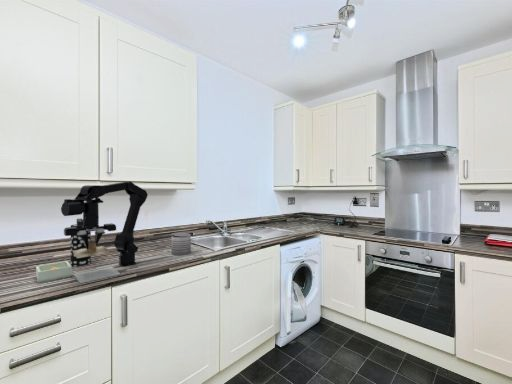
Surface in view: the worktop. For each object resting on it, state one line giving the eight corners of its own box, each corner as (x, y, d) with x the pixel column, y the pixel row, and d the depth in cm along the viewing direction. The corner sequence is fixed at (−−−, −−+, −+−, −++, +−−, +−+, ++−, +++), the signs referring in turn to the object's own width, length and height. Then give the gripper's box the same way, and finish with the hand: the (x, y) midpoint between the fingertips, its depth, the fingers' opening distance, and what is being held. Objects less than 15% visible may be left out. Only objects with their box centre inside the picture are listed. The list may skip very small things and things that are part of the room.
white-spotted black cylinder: (94, 261, 129) (94, 223, 129) (83, 266, 121) (83, 226, 120) (78, 261, 129) (78, 223, 128) (66, 266, 120) (66, 226, 120)
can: (176, 250, 153) (176, 231, 153) (194, 251, 152) (194, 232, 152) (167, 255, 142) (167, 234, 142) (186, 256, 140) (186, 235, 140)
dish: (67, 270, 115) (67, 260, 115) (71, 276, 107) (71, 266, 107) (35, 276, 107) (35, 266, 107) (38, 283, 99) (38, 272, 99)
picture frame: (111, 267, 119) (111, 266, 119) (120, 274, 110) (120, 273, 110) (74, 275, 108) (74, 274, 108) (80, 283, 99) (80, 282, 99)
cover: (103, 247, 117) (103, 237, 117) (110, 252, 109) (110, 242, 109) (72, 252, 109) (72, 241, 109) (77, 258, 100) (76, 246, 100)
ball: (57, 272, 109) (57, 265, 109) (59, 274, 107) (59, 267, 107) (48, 274, 107) (48, 267, 107) (49, 276, 105) (49, 268, 105)
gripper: (110, 210, 121) (110, 242, 121) (62, 213, 108) (62, 248, 108) (116, 212, 113) (116, 246, 113) (65, 215, 100) (65, 253, 100)
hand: (91, 248), depth 109 cm, fingers closed on cover, 2 cm apart
